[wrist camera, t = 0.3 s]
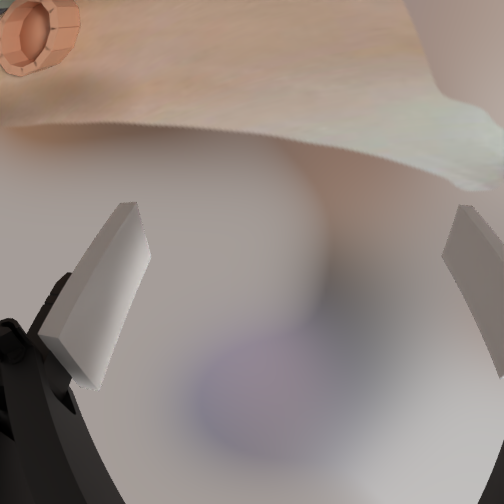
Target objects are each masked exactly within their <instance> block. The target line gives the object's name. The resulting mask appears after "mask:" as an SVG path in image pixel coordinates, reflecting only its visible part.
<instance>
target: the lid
mask: <svg viewBox="0 0 504 504" xmlns="http://www.w3.org/2000/svg"><path fill="white" fill-rule="evenodd" d="M14 1H15V0H0V8H9V7H10V5H11V4H12V3H13V2H14Z"/></svg>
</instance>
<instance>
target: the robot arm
mask: <svg viewBox="0 0 504 504" xmlns="http://www.w3.org/2000/svg"><path fill="white" fill-rule="evenodd" d="M442 258H443V260H444V262H445V264H446V265H447V267H448V269H449V271H450V272H451V274H452V276H453V278H454V279H455V282H456V283H457V285H458V287H459V289H460V291H461V293H462V295H463V297H464V299H465V301H466V303H467V305H468V307H469V309H470V311H471V313H472V315H473V317H474V319H475V321H476V323H477V325H478V328H479V330H480V332H481V334H482V337H483V339H484V341H485V343H486V346H487V348H488V350H489V353H490V355H491V358H492V360H493V363H494V365H495V367H496V370H497V373H498V375H499V378H500V379H502V378H504V244H503V243H502V241H501V240H500V239H499V237H498V236H497V235H496V234H495V232H494V231H493V230H492V229H491V227H489V225H488V224H487V223H486V221H485V220H484V219H483V218H482V217H481V216H480V214H479V213H478V212H477V211H476V210H475V208H474V207H473V206H468V205H459V207H458V210H457V213H456V216H455V219H454V222H453V225H452V228H451V231H450V235H449V238H448V240H447V243H446V246H445V248H444V251H443V254H442ZM150 259H151V254H150V250H149V247H148V243H147V239H146V236H145V232H144V228H143V224H142V221H141V217H140V213H139V209H138V205H137V202H131V203H130V202H129V203H120V204H119V205H118V206H117V208H116V209H115V211H114V212H113V213H112V215H111V216H110V217H109V219H108V220H107V222H106V223H105V225H104V226H103V227H102V229H101V230H100V232H99V233H98V235H97V236H96V238H95V239H94V240H93V242H92V244H91V245H90V246H89V248H88V249H87V251H86V252H85V254H84V255H83V257H82V258H81V260H80V262H79V263H78V265H77V266H76V268H75V269H74V271H73V273H66V274H65V275H64V276H63V277H62V278H61V279H60V280H59V281H57V283H56V284H55V286H54V288H53V289H52V291H51V292H50V296H48V297H47V299H46V301H45V304H44V305H43V306H42V307H41V309H40V311H39V313H38V314H37V316H36V318H35V320H34V321H33V324H32V325H31V327H30V329H29V331H28V332H27V334H26V333H25V332H24V330H23V329H22V328H21V326H20V325H19V323H18V322H17V321H16V320H14V319H13V318H12V319H11V318H6V319H4V320H1V321H0V504H125V502H124V501H123V499H122V497H121V495H120V494H119V492H118V490H117V488H116V486H115V485H114V483H113V481H112V479H111V478H110V475H109V473H108V472H107V470H106V468H105V466H104V464H103V462H102V460H101V458H100V456H99V453H98V451H97V449H96V447H95V445H94V443H93V440H92V438H91V436H90V434H89V432H88V429H87V427H86V424H85V422H84V420H83V417H82V415H81V412H80V410H79V407H78V404H77V402H76V399H75V396H74V394H73V391H72V390H71V388H70V387H69V384H70V381H71V379H72V378H73V380H74V381H75V382H76V383H77V384H78V385H79V387H82V388H86V389H91V390H96V391H100V388H101V385H102V382H103V379H104V376H105V373H106V370H107V367H108V364H109V361H110V359H111V356H112V353H113V351H114V348H115V345H116V342H117V340H118V337H119V334H120V332H121V329H122V327H123V324H124V321H125V319H126V316H127V314H128V311H129V308H130V306H131V304H132V301H133V299H134V296H135V294H136V292H137V289H138V287H139V284H140V282H141V280H142V277H143V275H144V273H145V270H146V268H147V266H148V264H149V261H150ZM478 504H504V441H503V444H502V447H501V450H500V452H499V455H498V458H497V460H496V463H495V466H494V468H493V471H492V473H491V475H490V478H489V480H488V482H487V485H486V487H485V489H484V491H483V493H482V496H481V498H480V500H479V502H478Z"/></svg>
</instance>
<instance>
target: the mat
mask: <svg viewBox="0 0 504 504" xmlns="http://www.w3.org/2000/svg"><path fill="white" fill-rule="evenodd" d="M7 10H8V8H0V14H2V13H3V12H5V11H7Z"/></svg>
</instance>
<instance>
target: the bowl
mask: <svg viewBox="0 0 504 504" xmlns="http://www.w3.org/2000/svg"><path fill="white" fill-rule="evenodd" d="M79 29H80V17H79V7H78V6H77V5H76V3H75V2H74V1H73V0H15V1H14V2H13V3H12V4H11V5H10V7H9V8H8V10H7V11H6V13H5V14H4V15H3V17H2V18H1V20H0V64H1V65H2V67H3V68H4V69H5V71H6V72H7V73H9V74H13V75H17V76H21V77H22V76H25V75H28V74H31V73H35V72H38V71H41V70H44V69H47V68H49V67H52V66H54V65H56V64H59V63H60V62H61V61H62V60H63V59H64V58H65V57H66V55H67V54H68V53H69V52H70V51H71V50H72V48H73V47H74V44H75V41H76V38H77V35H78V32H79Z"/></svg>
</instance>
